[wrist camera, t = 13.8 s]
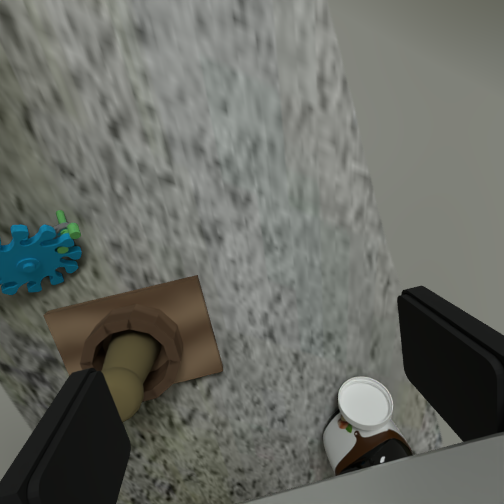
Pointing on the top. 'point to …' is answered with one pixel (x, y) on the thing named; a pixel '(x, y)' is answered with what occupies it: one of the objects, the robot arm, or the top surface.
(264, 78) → the top surface
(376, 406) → the spread jar
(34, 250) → the gear
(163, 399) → the top surface
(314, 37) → the top surface
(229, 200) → the top surface
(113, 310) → the shaker stand
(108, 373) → the cork
